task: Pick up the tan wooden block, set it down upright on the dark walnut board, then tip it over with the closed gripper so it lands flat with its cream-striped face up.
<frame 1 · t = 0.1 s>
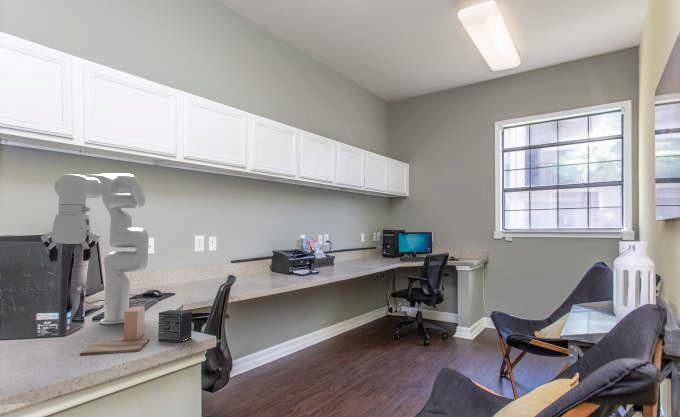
hand: (70, 260, 124), 31 cm above the table, fingers open, 9 cm apart
tan wooden block: (134, 337, 141), on the table
walnut board: (116, 347, 129), on the table
small box: (175, 339, 139), on the table
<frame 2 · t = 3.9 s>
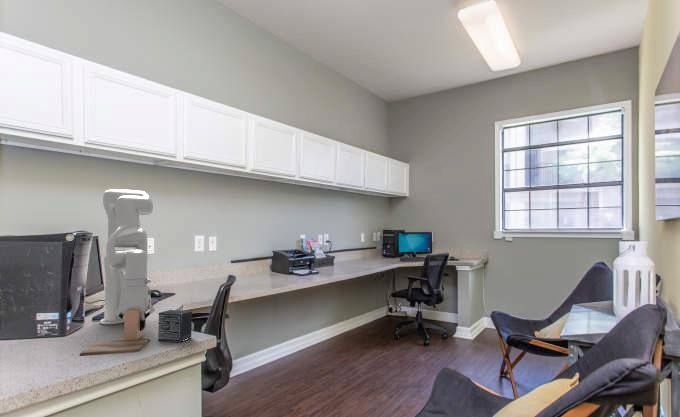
hand: (134, 329, 141), 3 cm above the table, fingers closed on tan wooden block, 4 cm apart
tan wooden block: (134, 337, 141), on the table, touching gripper
everything else where it was.
when the fingers open (5 cm above the table, at t = 8.6 s): tan wooden block stays where it is, resting on walnut board.
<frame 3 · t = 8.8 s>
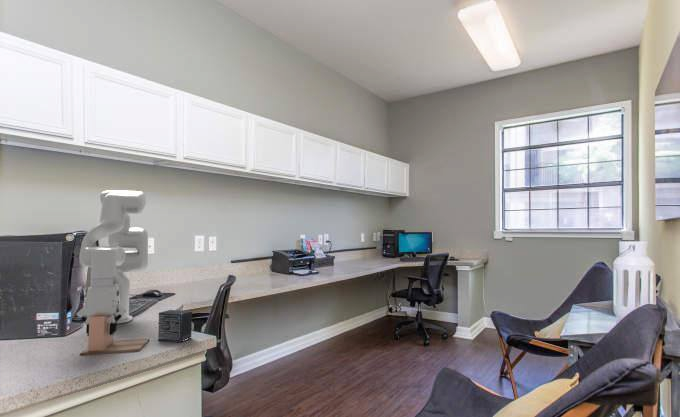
hand: (101, 333, 128), 5 cm above the table, fingers open, 6 cm apart
tan wooden block: (101, 346, 128), point 1 cm above the table, touching walnut board
everything else where it was.
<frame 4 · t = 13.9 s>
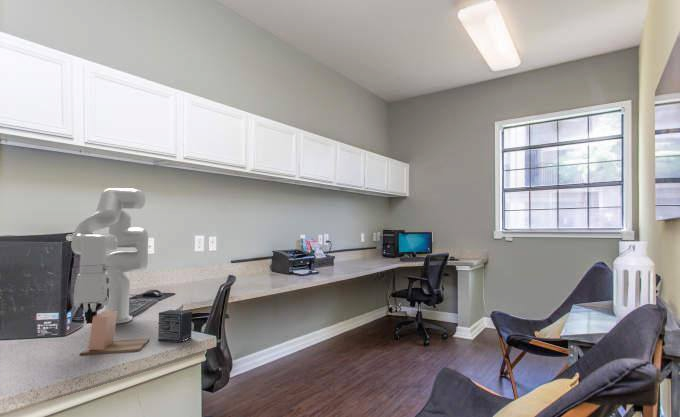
hand: (90, 322, 127), 9 cm above the table, fingers closed
tan wooden block: (101, 345, 128), point 1 cm above the table, tilted 6°, touching walnut board
everything else where it was.
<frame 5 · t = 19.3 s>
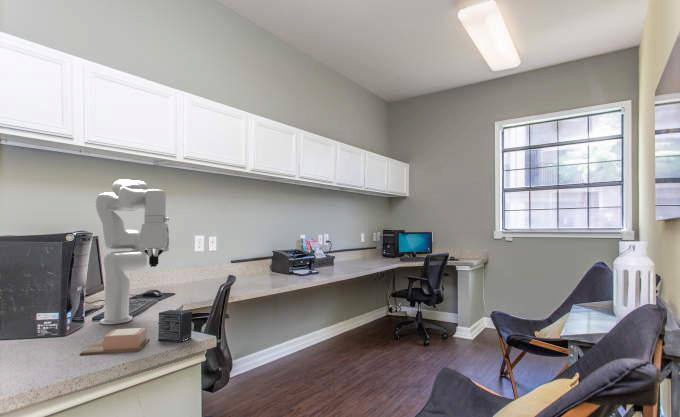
hand: (153, 266, 145), 27 cm above the table, fingers closed
tan wooden block: (108, 339, 129), point 3 cm above the table, tilted 90°, touching walnut board
everything else where it was.
at the end: tan wooden block tilted 90°; tan wooden block inside the target area on the walnut board (2.7 cm from its centre), point 3.0 cm above the walnut board's base; the gripper is holding nothing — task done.
